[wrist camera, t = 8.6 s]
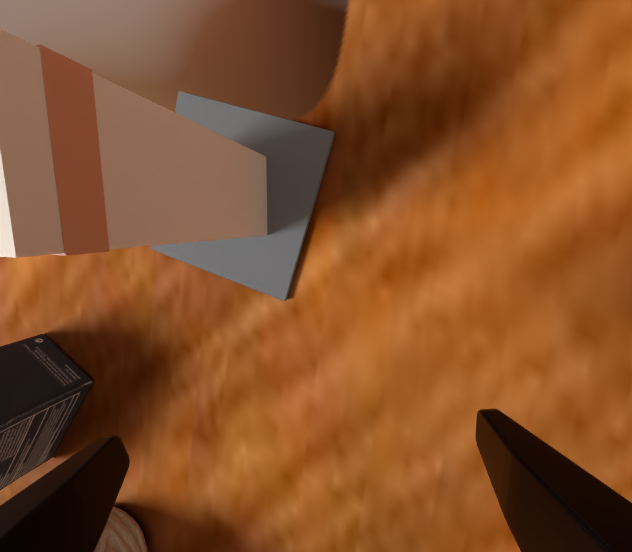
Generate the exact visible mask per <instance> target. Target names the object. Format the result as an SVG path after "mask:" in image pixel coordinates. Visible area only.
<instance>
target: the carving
mask: <svg viewBox="0 0 632 552" xmlns="http://www.w3.org/2000/svg"><path fill="white" fill-rule="evenodd" d="M94 552H147V546H146V542H145V539H144V535H143V533H142V530H141V529H140V527H139V525H138V524H137V522H136V521H135V520H134V519H133V518H132V517H131V516H130V515H128V514H127V513H126V512H124V511H123V510H121V509H119V508H116V507H113V508H112V511H111V514H110V516H109V519H108V521H107V524H106V526H105V528H104V531H103V533H102V535H101V538H100V540H99V542H98V544H97V546H96V548H95V550H94Z"/></svg>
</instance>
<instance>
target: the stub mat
mask: <svg viewBox="0 0 632 552" xmlns="http://www.w3.org/2000/svg"><path fill="white" fill-rule="evenodd" d="M175 113H176V114H178V115H181V116H183V117H185V118H187V119H189V120H191V121H193V122H195V123H197V124H199V125H201V126H203V127H206V128H208V129H210V130H212V131H214V132H216V133H218V134H220V135H222V136H224V137H226V138H228V139H231V140H233V141H235V142H237V143H239V144H241V145H243V146H245V147H247V148H249V149H251V150H253V151H255V152H258V153H260V154H262V155H264V156H266V169H267V234H268V235H267V236H256V237H245V238H233V239H222V240H210V241H199V242H187V243H176V244H165V245H153V246H151V249H152V250H155V251H157V252H160V253H162V254H165V255H167V256H170V257H173V258H175V259H178V260H180V261H183V262H185V263H188V264H191V265H193V266H196V267H198V268H201V269H203V270H206V271H208V272H211V273H214V274H216V275H219V276H221V277H224V278H226V279H229V280H232V281H234V282H237V283H239V284H242V285H244V286H247V287H250V288H252V289H255V290H257V291H260V292H262V293H265V294H268V295H270V296H273V297H275V298H278V299H280V300H283V301H286V300H287V298H288V294H289V291H290V288H291V284H292V281H293V277H294V274H295V270H296V267H297V264H298V260H299V257H300V253H301V250H302V246H303V243H304V240H305V236H306V233H307V229H308V226H309V222H310V219H311V216H312V212H313V209H314V205H315V202H316V198H317V195H318V192H319V188H320V185H321V181H322V178H323V174H324V171H325V168H326V164H327V161H328V157H329V154H330V150H331V147H332V144H333V140H334V137H335V132H333V131H329V130H326V129H322V128H318V127H314V126H310V125H307V124H303V123H299V122H295V121H291V120H287V119H284V118H279V117H276V116H272V115H268V114H264V113H261V112H257V111H253V110H249V109H245V108H241V107H238V106H234V105H230V104H226V103H222V102H219V101H215V100H211V99H207V98H203V97H200V96H196V95H192V94H188V93H184V92H180V91H179V92H178V98H177V103H176V109H175Z"/></svg>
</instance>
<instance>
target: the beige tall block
mask: <svg viewBox="0 0 632 552" xmlns="http://www.w3.org/2000/svg"><path fill="white" fill-rule="evenodd" d="M267 235H268V234H267V169H266V156H264V155H262V154H260V153H258V152H255V151H253V150H251V149H249V148H247V147H245V146H243V145H241V144H239V143H237V142H235V141H233V140H231V139H228V138H226V137H224V136H222V135H220V134H218V133H216V132H214V131H212V130H210V129H208V128H206V127H203V126H201V125H199V124H197V123H195V122H193V121H191V120H189V119H187V118H185V117H183V116H181V115H178V114H176V113H174V112H172V111H170V110H168V109H166V108H164V107H162V106H160V105H158V104H155V103H153V102H151V101H149V100H147V99H145V98H143V97H141V96H139V95H137V94H135V93H133V92H131V91H129V90H126V89H124V88H122V87H120V86H118V85H116V84H114V83H112V82H110V81H108V80H106V79H103V78H101V77H99V76H97V75H95V74H93V73H92V70H91V69H89V68H87V67H85V66H83V65H81V64H79V63H77V62H75V61H73V60H71V59H69V58H67V57H65V56H63V55H60V54H58V53H56V52H54V51H52V50H50V49H48V48H46V47H44V46H42V45H37V46H35V45H32V44H31V43H28V42H26V41H24V40H22V39H20V38H18V37H16V36H14V35H12V34H10V33H8V32H6V31H3V30H1V29H0V257H27V256H39V255H76V254H86V253H97V252H108V251H109V249H119V248H130V247H142V246H153V245H165V244H176V243H187V242H199V241H210V240H222V239H233V238H245V237H256V236H267Z"/></svg>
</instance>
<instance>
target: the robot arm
mask: <svg viewBox="0 0 632 552" xmlns="http://www.w3.org/2000/svg"><path fill="white" fill-rule="evenodd" d="M476 442H477V446H478V449H479V451H480V454H481V457H482V459H483V462H484V465H485V467H486V470H487V472H488V475H489V478H490V480H491V483H492V486H493V488H494V491H495V494H496V496H497V499H498V502H499V504H500V507H501V509H502V512H503V514H504V517H505V519H506V521H507V523H508V526H509V528H510V530H511V532H512V534H513V536H514V538H515V540H516V542H517V544H518V546H519V548H520V550H521V552H632V503H631V502H630V501H628V500H627V499H625V498H624V497H623V496H621V495H620V494H618V493H617V492H615V491H614V490H613V489H611V488H610V487H608V486H607V485H605V484H604V483H603V482H601V481H600V480H598V479H597V478H595V477H594V476H593V475H591V474H590V473H588V472H587V471H585V470H584V469H582V468H581V467H580V466H578V465H577V464H575V463H574V462H572V461H571V460H570V459H568V458H567V457H565V456H564V455H562V454H561V453H560V452H558V451H557V450H555V449H554V448H552V447H551V446H550V445H548V444H547V443H545V442H544V441H542V440H541V439H540V438H538V437H537V436H535V435H534V434H532V433H531V432H529V431H528V430H527V429H525V428H524V427H522V426H521V425H519V424H518V423H517V422H515V421H514V420H512V419H511V418H509V417H508V416H507V415H505V414H504V413H502V412H501V411H499V410H497V409H481V410H479V411H478V413H477V422H476ZM129 462H130V460H129V456H128V453H127V451H126V449H125V446H124V444H123V442H122V439H121V438H120V437H119V436H118V435H107V436H101V437H99V438H98V439H96V440H95V441H93V442H92V443H90V444H89V445H87V446H86V447H84V448H83V449H82V450H80V451H79V452H77V453H76V454H74V455H73V456H71V457H70V458H69V459H67V460H66V461H64V462H63V463H61V464H60V465H58V466H57V467H56V468H54V469H53V470H51V471H50V472H48V473H47V474H45V475H44V476H43V477H41V478H40V479H38V480H37V481H35V482H34V483H32V484H31V485H30V486H28V487H27V488H25V489H24V490H22V491H21V492H19V493H18V494H17V495H15V496H14V497H12V498H11V499H9V500H8V501H6V502H5V503H4V504H2V505H1V506H0V552H94V550H95V548H96V546H97V544H98V542H99V540H100V538H101V535H102V533H103V531H104V528H105V526H106V524H107V521H108V519H109V516H110V514H111V511H112V508H113V506H114V503H115V501H116V498H117V496H118V493H119V491H120V488H121V486H122V483H123V481H124V478H125V476H126V473H127V471H128V468H129Z"/></svg>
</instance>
